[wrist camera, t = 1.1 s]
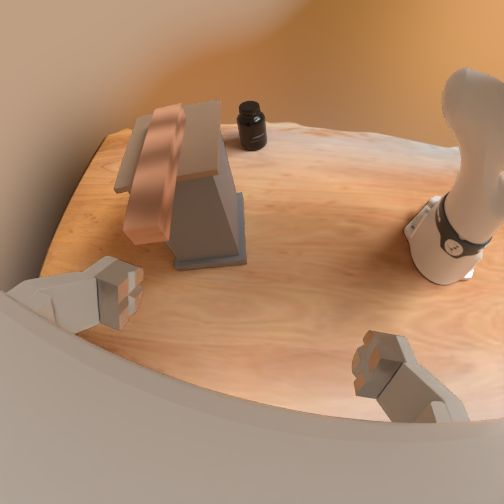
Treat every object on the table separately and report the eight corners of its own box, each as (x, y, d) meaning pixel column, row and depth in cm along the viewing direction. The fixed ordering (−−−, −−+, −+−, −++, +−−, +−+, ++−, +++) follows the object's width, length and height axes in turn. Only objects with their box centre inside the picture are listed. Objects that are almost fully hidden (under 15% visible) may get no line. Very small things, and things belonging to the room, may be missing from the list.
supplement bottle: (260, 153, 69) (255, 116, 58) (236, 148, 71) (228, 111, 60) (271, 137, 71) (267, 100, 61) (248, 132, 73) (242, 96, 63)
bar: (161, 124, 39) (154, 109, 36) (186, 118, 39) (180, 102, 36) (135, 245, 29) (122, 230, 26) (168, 240, 29) (157, 225, 26)
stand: (182, 206, 64) (137, 117, 41) (243, 198, 63) (219, 98, 40) (177, 270, 57) (113, 189, 34) (246, 263, 56) (217, 169, 33)
